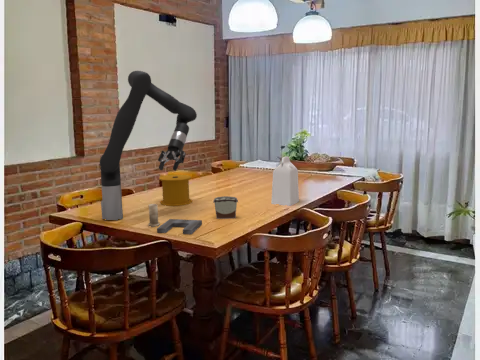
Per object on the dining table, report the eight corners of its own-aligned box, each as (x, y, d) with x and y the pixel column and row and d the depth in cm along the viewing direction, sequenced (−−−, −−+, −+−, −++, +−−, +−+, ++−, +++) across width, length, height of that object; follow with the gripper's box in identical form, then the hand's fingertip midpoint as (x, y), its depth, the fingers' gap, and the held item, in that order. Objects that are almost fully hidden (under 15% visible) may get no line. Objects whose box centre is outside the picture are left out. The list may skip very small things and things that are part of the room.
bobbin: (146, 226, 207) (145, 205, 205) (151, 223, 212) (150, 203, 210) (157, 227, 206) (156, 206, 204) (161, 224, 211) (160, 203, 209)
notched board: (157, 232, 197) (156, 228, 197) (169, 222, 213) (169, 218, 212) (191, 234, 194) (191, 230, 194) (202, 224, 209) (201, 220, 209)
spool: (186, 206, 245) (185, 180, 242) (155, 205, 249) (154, 179, 246) (195, 199, 263) (195, 174, 260) (167, 198, 266) (166, 174, 263)
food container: (238, 215, 225) (237, 195, 224) (238, 218, 219) (238, 198, 218) (213, 215, 225) (213, 196, 223) (213, 218, 219) (213, 199, 217)
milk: (280, 199, 259) (280, 155, 254) (298, 201, 253) (299, 156, 248) (271, 203, 248) (271, 157, 244) (290, 206, 243) (290, 158, 238)
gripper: (162, 138, 227) (151, 165, 220) (185, 137, 220) (174, 166, 213) (170, 146, 233) (160, 173, 226) (192, 145, 226) (182, 173, 219)
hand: (167, 169), depth 220 cm, fingers open, 8 cm apart
